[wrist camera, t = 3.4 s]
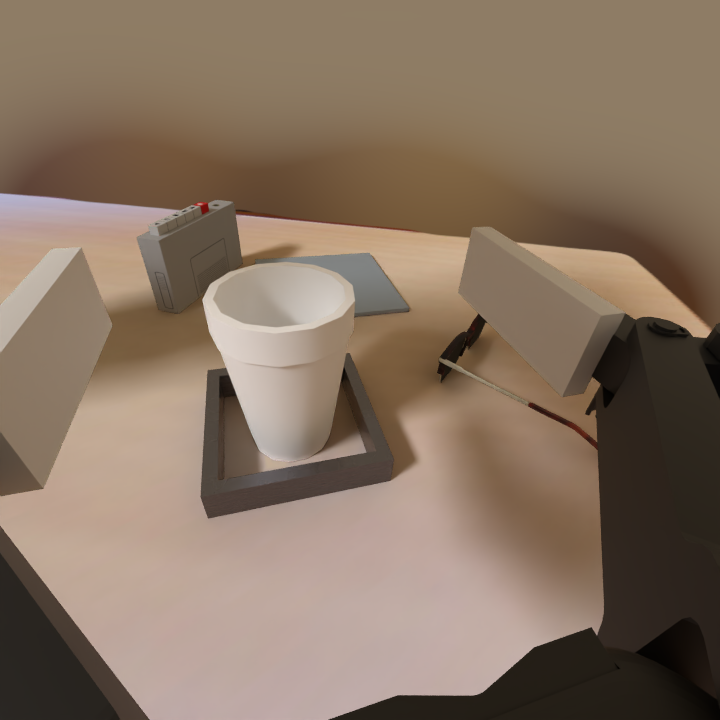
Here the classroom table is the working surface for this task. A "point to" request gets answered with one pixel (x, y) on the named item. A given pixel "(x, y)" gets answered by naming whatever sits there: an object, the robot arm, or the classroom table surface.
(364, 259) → the rubber mat
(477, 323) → the sunglasses
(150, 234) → the cassette player
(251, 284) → the foam cup
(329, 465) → the holder collar
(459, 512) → the classroom table surface
